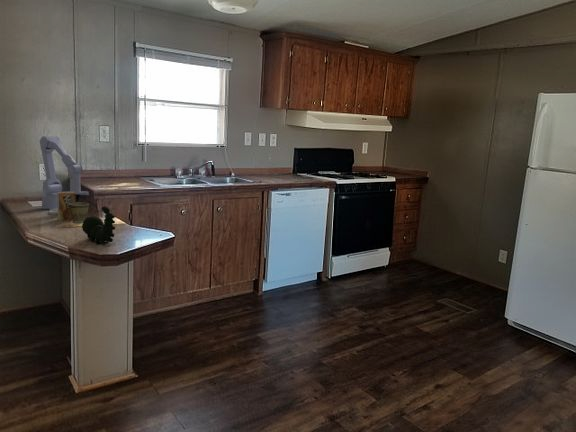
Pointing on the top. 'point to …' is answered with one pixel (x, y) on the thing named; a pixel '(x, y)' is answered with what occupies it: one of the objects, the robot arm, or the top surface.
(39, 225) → the top surface
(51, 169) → the robot arm
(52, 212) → the fader board
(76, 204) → the ceramic cup
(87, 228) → the toy figurine
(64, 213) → the candy box
